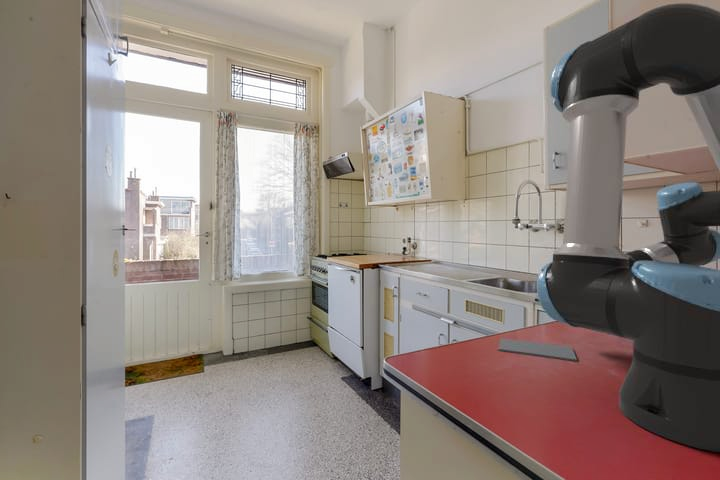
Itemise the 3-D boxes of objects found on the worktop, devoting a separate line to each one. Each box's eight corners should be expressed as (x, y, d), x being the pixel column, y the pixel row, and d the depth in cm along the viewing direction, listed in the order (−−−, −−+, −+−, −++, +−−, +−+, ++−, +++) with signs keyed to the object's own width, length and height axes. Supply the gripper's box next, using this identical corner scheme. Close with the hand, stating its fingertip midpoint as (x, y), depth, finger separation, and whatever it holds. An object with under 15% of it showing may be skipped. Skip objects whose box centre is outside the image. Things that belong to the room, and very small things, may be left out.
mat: (576, 361, 73) (576, 359, 73) (498, 350, 80) (498, 348, 80) (572, 348, 81) (572, 346, 81) (500, 339, 88) (500, 338, 88)
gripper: (678, 300, 72) (571, 333, 74) (615, 256, 87) (528, 283, 89) (684, 274, 68) (570, 309, 70) (617, 233, 84) (526, 262, 86)
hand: (547, 295), depth 80 cm, fingers closed on block, 5 cm apart
